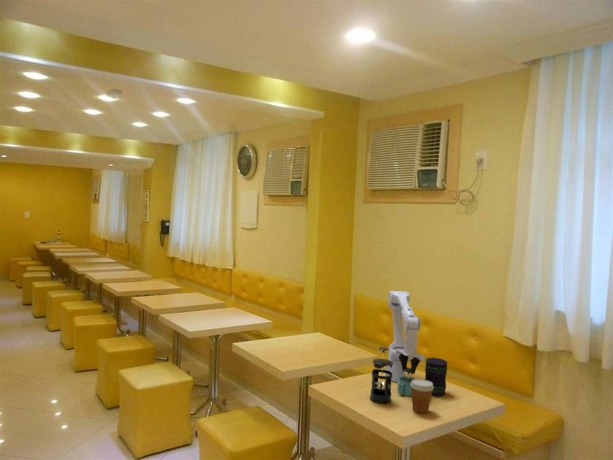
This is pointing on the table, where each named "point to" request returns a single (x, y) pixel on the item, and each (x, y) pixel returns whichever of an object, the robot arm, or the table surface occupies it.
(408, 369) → the plunger
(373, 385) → the french press
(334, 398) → the table surface
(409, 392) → the carafe
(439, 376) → the storage jar
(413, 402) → the disposable coffee cup
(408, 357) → the robot arm
